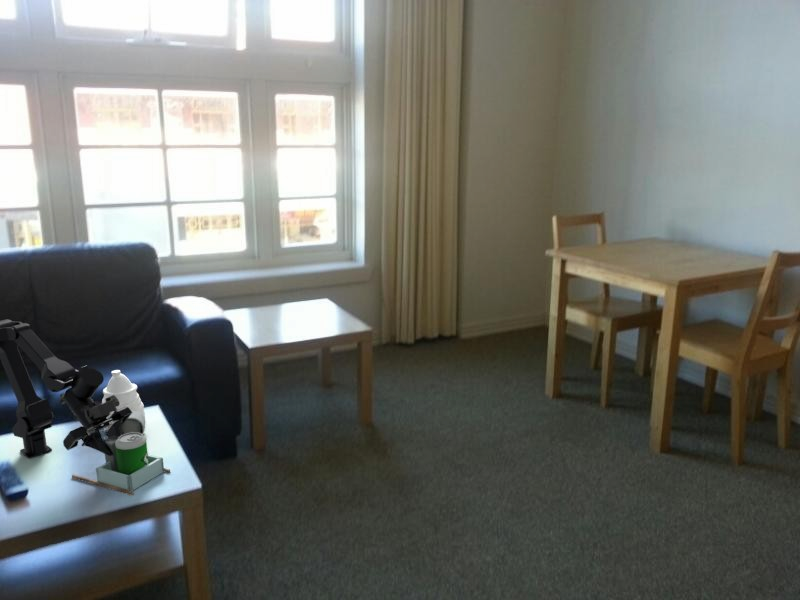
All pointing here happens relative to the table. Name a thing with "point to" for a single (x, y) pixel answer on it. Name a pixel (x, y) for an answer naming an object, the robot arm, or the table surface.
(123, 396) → the honey pot
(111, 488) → the track
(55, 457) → the table surface
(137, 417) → the ceramic mug
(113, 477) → the pale green open tray
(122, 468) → the soda can
